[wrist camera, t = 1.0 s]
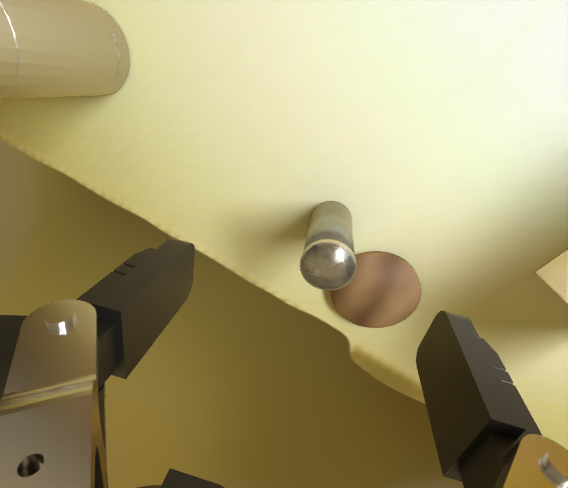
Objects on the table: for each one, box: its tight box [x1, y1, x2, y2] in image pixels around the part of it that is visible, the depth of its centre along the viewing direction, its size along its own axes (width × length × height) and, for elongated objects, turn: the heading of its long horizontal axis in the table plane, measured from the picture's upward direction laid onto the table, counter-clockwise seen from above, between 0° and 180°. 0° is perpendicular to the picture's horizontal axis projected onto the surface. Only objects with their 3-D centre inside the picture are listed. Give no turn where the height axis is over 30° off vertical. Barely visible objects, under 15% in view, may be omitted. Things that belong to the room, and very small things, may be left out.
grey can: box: [300, 201, 356, 290], centre depth 36 cm, size 5×5×12 cm
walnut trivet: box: [331, 251, 421, 328], centre depth 44 cm, size 12×12×1 cm
